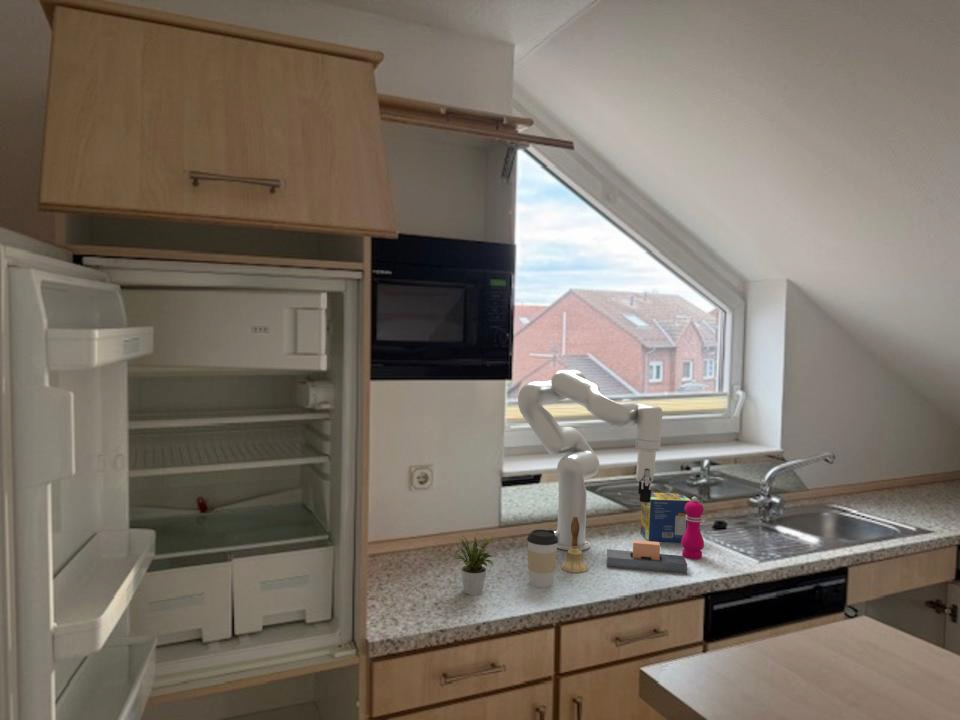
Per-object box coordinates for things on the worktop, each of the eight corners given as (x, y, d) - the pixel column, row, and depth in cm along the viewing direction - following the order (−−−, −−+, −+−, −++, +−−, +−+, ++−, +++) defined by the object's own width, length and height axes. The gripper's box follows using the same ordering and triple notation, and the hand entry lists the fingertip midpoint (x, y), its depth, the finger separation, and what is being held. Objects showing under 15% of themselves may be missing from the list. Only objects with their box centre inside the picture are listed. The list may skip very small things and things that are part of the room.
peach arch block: (632, 566, 205) (633, 543, 205) (632, 563, 208) (633, 539, 208) (659, 569, 203) (660, 545, 203) (658, 565, 207) (659, 542, 206)
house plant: (441, 601, 173) (443, 540, 173) (444, 581, 187) (445, 525, 186) (495, 602, 173) (497, 542, 173) (493, 583, 187) (495, 526, 187)
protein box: (639, 533, 241) (641, 492, 240) (680, 534, 241) (682, 493, 241) (647, 542, 230) (649, 499, 230) (691, 543, 231) (692, 500, 230)
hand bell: (563, 573, 197) (565, 520, 197) (558, 563, 206) (560, 513, 205) (590, 573, 198) (592, 521, 197) (584, 563, 206) (586, 513, 206)
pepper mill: (704, 560, 212) (707, 500, 212) (681, 558, 214) (684, 498, 213) (702, 553, 219) (704, 495, 219) (679, 551, 221) (682, 493, 220)
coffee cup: (534, 590, 183) (536, 537, 182) (520, 579, 191) (521, 528, 190) (562, 586, 186) (564, 534, 186) (547, 575, 195) (548, 525, 194)
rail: (607, 566, 204) (607, 557, 204) (606, 558, 212) (607, 549, 212) (686, 574, 200) (687, 564, 200) (683, 565, 207) (683, 556, 207)
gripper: (634, 439, 215) (631, 490, 216) (636, 448, 198) (632, 503, 199) (658, 441, 214) (654, 492, 215) (662, 450, 197) (658, 506, 198)
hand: (644, 498), depth 207 cm, fingers open, 9 cm apart
